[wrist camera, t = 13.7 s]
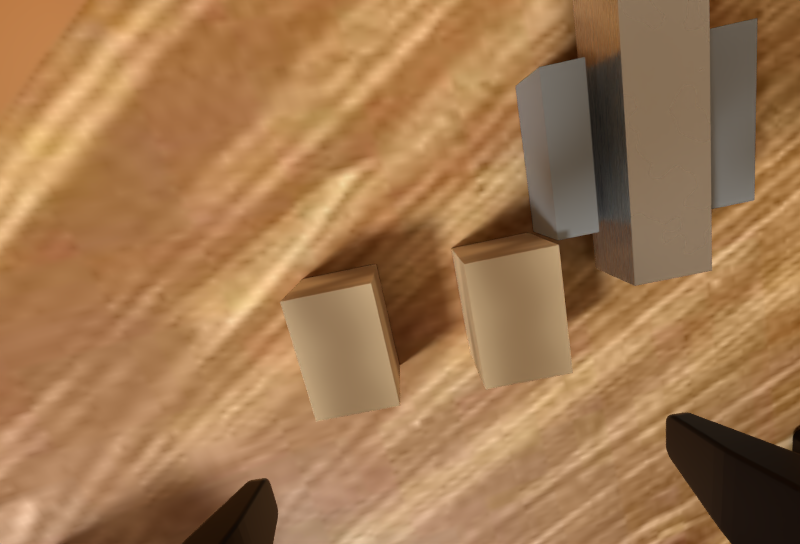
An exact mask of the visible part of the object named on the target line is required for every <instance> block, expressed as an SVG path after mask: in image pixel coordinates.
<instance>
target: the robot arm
mask: <svg viewBox="0 0 800 544" xmlns="http://www.w3.org/2000/svg"><path fill="white" fill-rule="evenodd" d="M666 449H667V452H668V455H669V457H670V458H671V460H672V462H673V463H674V464H675V466H676V467H677V469H678V470H679V472H680V473H681V474H682V476H683V477H684V479H685V480H686V482H687V483H688V485H689V486H690V487H691V489H692V490H693V492H694V493H695V495H696V496H697V498H698V499H699V500H700V502H701V503H702V505H703V506H704V508H705V509H706V510H707V512H708V513H709V515H710V516H711V518H712V519H713V520H714V522H715V523H716V524H717V526H718V527H719V529H720V530H721V531H722V532H723V534H724V535H725V536H726V537H727V539H728V540H729V541H730V543H731V544H800V430H798V431H797V432H796V433H795V434H794V437H793V451H790V450H788V449H785V448H782V447H779V446H777V445H774V444H771V443H769V442H766V441H763V440H761V439H758V438H755V437H753V436H750V435H747V434H745V433H742V432H739V431H737V430H734V429H731V428H729V427H726V426H723V425H721V424H718V423H715V422H713V421H710V420H707V419H705V418H702V417H699V416H697V415H694V414H691V413H678V414H672V415H669V416H668V417H667V419H666ZM277 519H278V508H277V504H276V500H275V497H274V494H273V491H272V487H271V484H270V482H269V480H268V479H266V478H262V479H255V480H251V481H248V482H247V483H246V484H245V485H244V486H243V487H242V488H240V489H239V490H238V491H237V492H236V493H235V494H234V495H233V496H232V497H231V498H230V499H229V500H228V501H227V502H226V503H224V504H223V505H222V506H221V507H220V508H219V509H218V510H217V511H216V512H215V513H214V514H213V515H212V516H211V517H210V518H208V519H207V520H206V521H205V522H204V523H203V524H202V525H201V526H200V527H199V528H198V529H197V530H196V531H195V532H194V533H192V534H191V535H190V536H189V537H188V538H187V539H186V540H185V541H184V542H183V543H182V544H273V541H274V535H275V530H276V525H277Z"/></svg>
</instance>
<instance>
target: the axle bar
mask: <svg viewBox="0 0 800 544" xmlns="http://www.w3.org/2000/svg"><path fill="white" fill-rule="evenodd" d="M573 8H574V20H575V31H576V43H577V55H578V58H583V57H585V64H586V76H587V88H588V100H589V112H590V125H591V137H592V149H593V161H594V173H595V185H596V198H597V210H598V222H599V232H597V233H593V242H594V253H595V265H596V269H598V270H600V271H603V272H605V273H607V274H609V275H612V276H614V277H616V278H618V279H621V280H623V281H625V282H628V283H630V284H632V285H634V286H636V285H641V284H646V283H652V282H657V281H662V280H667V279H672V278H677V277H682V276H687V275H692V274H697V273H702V272H707V271H712V228H711V121H710V14H709V0H573Z"/></svg>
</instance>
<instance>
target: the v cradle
mask: <svg viewBox="0 0 800 544" xmlns="http://www.w3.org/2000/svg"><path fill="white" fill-rule="evenodd" d="M756 72H757V18H756V19H751V20H747V21H742V22H738V23H734V24H729V25H725V26H720V27H716V28H711V29H710V121H711V209H714V208H719V207H724V206H729V205H733V204H738V203H743V202H748V201H753V200H754V191H755V131H756ZM516 94H517V102H518V110H519V118H520V126H521V134H522V142H523V150H524V158H525V166H526V174H527V182H528V190H529V198H530V206H531V214H532V222H533V230H534V232H537V233H539V234H542V235H545V236H547V237H550V238H553V239H556V240H563V239H567V238H572V237H577V236H582V235H587V234H592V233H597V232H599V222H598V210H597V198H596V185H595V173H594V161H593V149H592V137H591V125H590V112H589V100H588V88H587V76H586V64H585V57H583V58H578V59H574V60H569V61H565V62H560V63H556V64H551V65H547V66H543V67H539V68H538V69H536V70H535V71H534V72H533V73H531V74H530V75H529V76H528V77H526V78H525V79H524V80H523V81H521V82H520V83H519V84H518V85H516Z"/></svg>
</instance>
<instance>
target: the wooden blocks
mask: <svg viewBox="0 0 800 544" xmlns="http://www.w3.org/2000/svg"><path fill="white" fill-rule="evenodd" d="M451 250H452V255H453V261H454V266H455V272H456V277H457V283H458V289H459V294H460V300H461V305H462V311H463V317H464V322H465V328H466V333H467V339H468V344H469V350H470V354H471V356H472V359H473V361H474V363H475V366H476V368H477V370H478V373H479V375H480V378H481V380H482V382H483V385H484V387H485V389H491V388H496V387H501V386H507V385H512V384H517V383H523V382H528V381H533V380H538V379H544V378H549V377H554V376H560V375H565V374H570V373H573V370H572V361H571V352H570V343H569V333H568V324H567V315H566V306H565V297H564V288H563V278H562V269H561V260H560V251H559V245H558V244H555V243H553V242H550V241H548V240H545V239H543V238H540V237H538V236H535V235H533V234H530V233H523V234H519V235H514V236H509V237H504V238H499V239H494V240H489V241H485V242H480V243H475V244H470V245H465V246H460V247H456V248H451ZM280 303H281V306H282V309H283V313H284V316H285V319H286V323H287V326H288V329H289V333H290V336H291V339H292V343H293V346H294V349H295V353H296V356H297V359H298V363H299V366H300V369H301V373H302V376H303V379H304V383H305V386H306V389H307V393H308V396H309V399H310V403H311V406H312V409H313V413H314V416H315V419H316V421H322V420H327V419H332V418H338V417H343V416H348V415H353V414H359V413H364V412H369V411H375V410H380V409H385V408H390V407H396V406H400V366H399V361H398V357H397V353H396V348H395V344H394V340H393V335H392V331H391V327H390V322H389V318H388V313H387V309H386V305H385V300H384V296H383V292H382V287H381V283H380V279H379V274H378V270H377V266H376V264H373V265H368V266H364V267H359V268H354V269H349V270H344V271H339V272H334V273H330V274H325V275H320V276H315V277H310V278H305V279H302V280H301V281H300V282H299V283H298V284H297V285H296V286H295V287H294V288H293V289H292V290H291V291H290V292H289V293H288V294H287V295H286V296H285V297H284V298H283V299H282V300H281V301H280Z"/></svg>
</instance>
